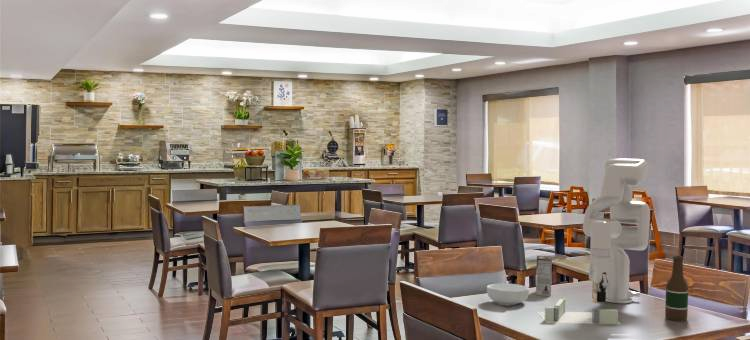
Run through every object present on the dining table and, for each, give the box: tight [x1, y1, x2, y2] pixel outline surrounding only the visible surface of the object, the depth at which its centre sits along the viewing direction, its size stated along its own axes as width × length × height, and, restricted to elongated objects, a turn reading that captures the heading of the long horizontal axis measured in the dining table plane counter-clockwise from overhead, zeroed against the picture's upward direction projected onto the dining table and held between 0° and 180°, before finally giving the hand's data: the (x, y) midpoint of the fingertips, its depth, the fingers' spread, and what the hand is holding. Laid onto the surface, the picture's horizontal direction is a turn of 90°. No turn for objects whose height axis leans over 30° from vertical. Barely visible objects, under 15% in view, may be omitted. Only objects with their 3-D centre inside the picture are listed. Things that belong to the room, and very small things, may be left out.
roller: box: [592, 282, 606, 305], centre depth 270 cm, size 4×4×8 cm
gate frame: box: [536, 306, 622, 325], centre depth 266 cm, size 27×17×5 cm, turn 91°
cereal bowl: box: [486, 283, 530, 307], centre depth 290 cm, size 17×17×7 cm
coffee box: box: [535, 255, 553, 297], centre depth 310 cm, size 9×6×16 cm
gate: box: [554, 297, 566, 319], centre depth 268 cm, size 14×2×5 cm, turn 156°
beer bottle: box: [664, 255, 689, 322], centre depth 268 cm, size 8×8×24 cm
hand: (598, 299), depth 270 cm, fingers closed on roller, 4 cm apart
